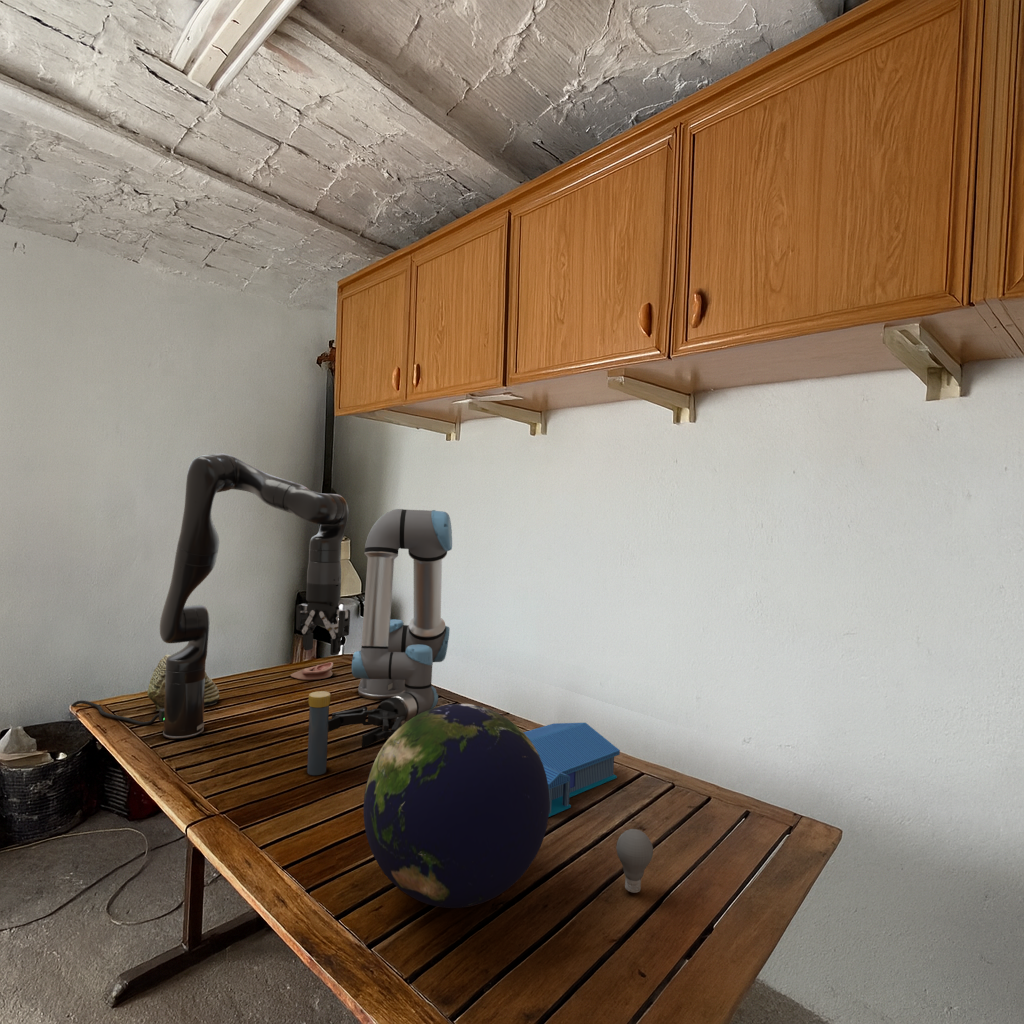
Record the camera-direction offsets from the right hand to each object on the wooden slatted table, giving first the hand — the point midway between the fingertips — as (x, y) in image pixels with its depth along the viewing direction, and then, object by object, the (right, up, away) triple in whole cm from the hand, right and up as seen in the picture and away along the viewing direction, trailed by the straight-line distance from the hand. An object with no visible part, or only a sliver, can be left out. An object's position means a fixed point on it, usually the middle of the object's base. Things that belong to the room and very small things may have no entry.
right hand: (341, 735), depth 151 cm
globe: (+31, -9, -48) cm, 58 cm away
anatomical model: (-29, -4, +70) cm, 75 cm away
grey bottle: (-4, -6, -6) cm, 9 cm away
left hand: (-3, +21, -6) cm, 22 cm away
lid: (-3, +11, -6) cm, 13 cm away
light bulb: (+61, -10, -46) cm, 77 cm away
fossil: (-55, -3, +34) cm, 65 cm away
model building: (+45, -9, -9) cm, 47 cm away
